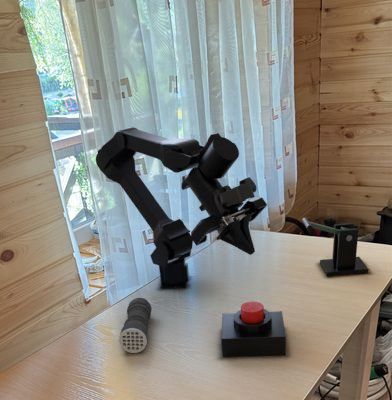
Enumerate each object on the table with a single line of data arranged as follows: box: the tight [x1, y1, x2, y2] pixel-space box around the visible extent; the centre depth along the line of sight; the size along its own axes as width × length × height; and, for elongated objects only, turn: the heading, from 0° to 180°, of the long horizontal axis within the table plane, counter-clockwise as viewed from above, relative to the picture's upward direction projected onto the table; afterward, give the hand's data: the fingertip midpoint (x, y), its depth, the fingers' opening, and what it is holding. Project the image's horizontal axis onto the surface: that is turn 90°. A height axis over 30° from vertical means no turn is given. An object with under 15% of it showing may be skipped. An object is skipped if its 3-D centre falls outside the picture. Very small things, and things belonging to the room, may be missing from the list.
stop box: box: [220, 308, 287, 358], centre depth 101 cm, size 12×10×6 cm
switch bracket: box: [319, 222, 369, 278], centre depth 126 cm, size 10×8×11 cm
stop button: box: [240, 301, 265, 323], centre depth 99 cm, size 4×4×2 cm
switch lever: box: [301, 217, 349, 235], centre depth 123 cm, size 12×6×2 cm, turn 92°
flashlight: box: [118, 297, 152, 354], centre depth 108 cm, size 15×5×5 cm, turn 0°
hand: (252, 253), depth 106 cm, fingers closed
